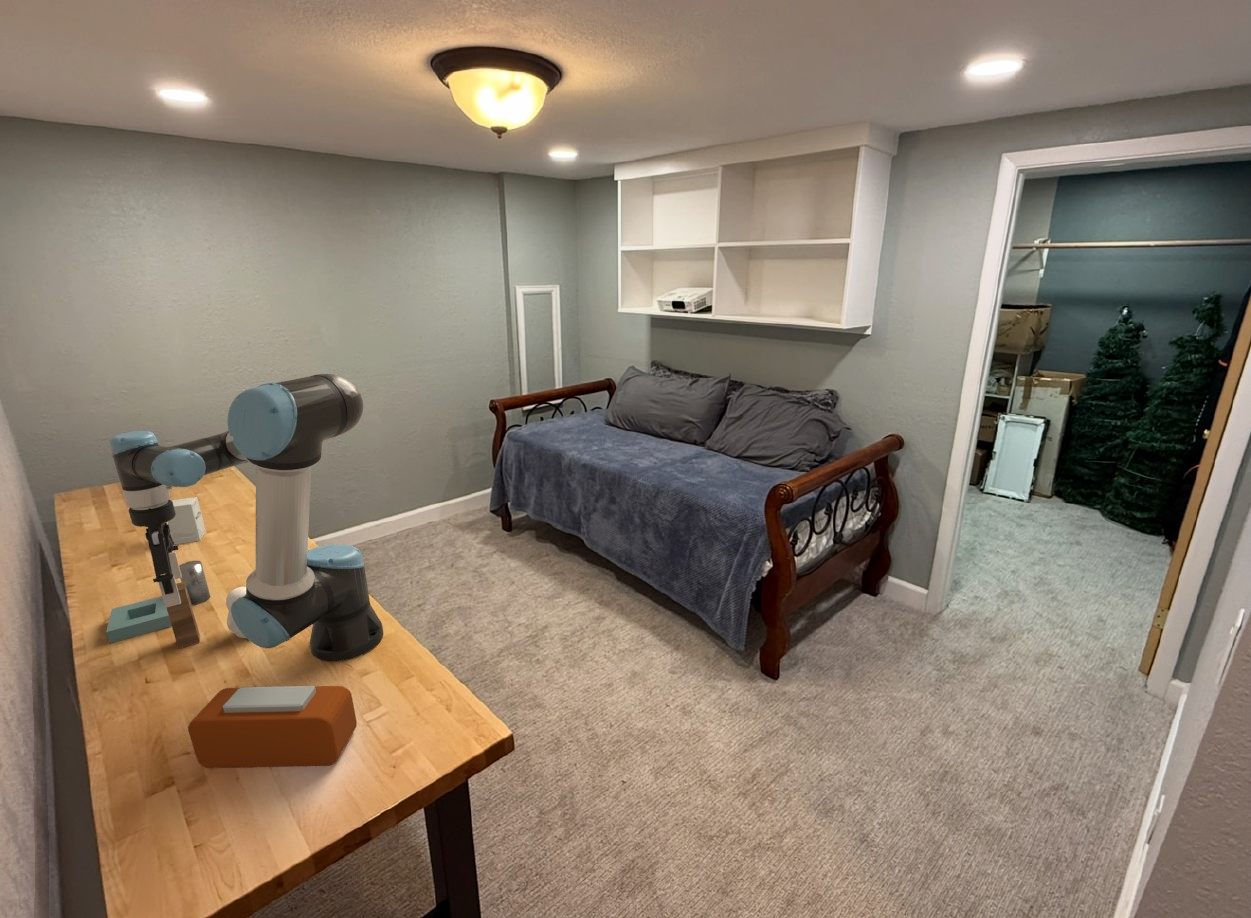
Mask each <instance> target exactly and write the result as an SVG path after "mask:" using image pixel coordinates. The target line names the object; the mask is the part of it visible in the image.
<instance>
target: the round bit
mask: <svg viewBox="0 0 1251 918" xmlns="http://www.w3.org/2000/svg"><path fill="white" fill-rule="evenodd" d="M179 567H180V571H181V575H182V578H179V579H180V583H181V582H185V583H186V587H187V590H188V594H189V598H190V601H191V605H192V606H193V605H199V604H202V603H205V602H207V601H209V600H210V598H211V594H210V590H209V586H208V583H207V578H206V575H205V571H204V567H203V564H202V561H201V560H190V561H186V562H183V563H181V564H179Z"/></svg>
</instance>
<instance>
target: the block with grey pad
mask: <svg viewBox="0 0 1251 918" xmlns="http://www.w3.org/2000/svg"><path fill="white" fill-rule="evenodd" d="M356 728H357V717H356V711H355V706H354V701H353V695H352V692H351V690H350V689H348V688H347V687H345V686H343V685H316V686H315V685H300V686H299V685H297V686H296V685H295V686H254V687H253V686H250V687H249V686H248V687H247V686H243V687H227V688H223V689H221V690H220V691H218V693H216V694H215V695H214V696H213V698H212V699H211V700H210V701H208V703H207V704H206V705H205V706H204V707H203V708H202V709H201V710H200V711H199V712H198V713H197V714H196V715H195V717H193V719H192V720H191V721H189V724H188V726H187V730H188V735H189V738H190V741H191V746H192V747H193V751H194V755H195V758H196V761H197V762H198V764H200V765H201V766H202V767H204V768H207V769H233V768H241V769H242V768H286V767H287V768H288V767H289V768H290V767H328V766H332V765H333V764H335V763H336V762H337V761H338V759H339V758H340V756H341V755H342V753H343V750H344V749H345V748H346V746H347V744H348V742H349V741H350V739H351V737H352V735H353V733H354V732H355V730H356Z"/></svg>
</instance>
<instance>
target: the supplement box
mask: <svg viewBox="0 0 1251 918" xmlns="http://www.w3.org/2000/svg"><path fill="white" fill-rule="evenodd" d="M170 500H171V499H170ZM171 501H172V502H173V505H174V509H175V513H176V515H175V517H174V518H173V519H172V520H170V521H168V522H167V524H169V527H170V533H171V537H172V539H173V542H174V545H173V546H175V545H181V544H188V543H195V542H200V541H201V540H202V539H203V536H204V535H205V534H206V532H207V531H206V528H205V524H204V523H205V522H204V518H203V515H202V511H201V507H200V503H199V499H198V497H197V496H195V497H194V496H193V497H186V498H179V499H173V500H171Z"/></svg>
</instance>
